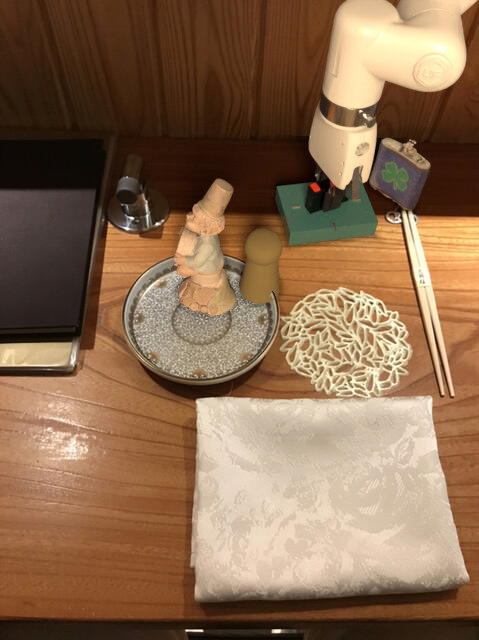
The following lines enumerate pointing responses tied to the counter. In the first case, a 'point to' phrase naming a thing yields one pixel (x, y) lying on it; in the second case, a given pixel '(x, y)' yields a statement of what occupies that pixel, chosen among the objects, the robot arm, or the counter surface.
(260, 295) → the cork
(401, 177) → the flask
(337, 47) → the robot arm
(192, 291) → the figurine
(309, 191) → the clamp handle
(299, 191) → the base
